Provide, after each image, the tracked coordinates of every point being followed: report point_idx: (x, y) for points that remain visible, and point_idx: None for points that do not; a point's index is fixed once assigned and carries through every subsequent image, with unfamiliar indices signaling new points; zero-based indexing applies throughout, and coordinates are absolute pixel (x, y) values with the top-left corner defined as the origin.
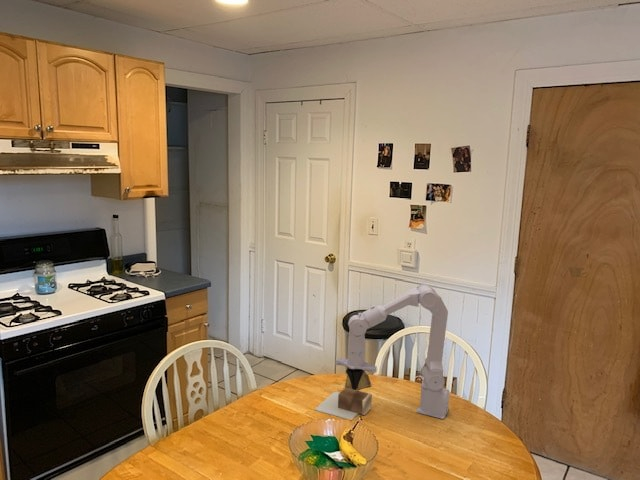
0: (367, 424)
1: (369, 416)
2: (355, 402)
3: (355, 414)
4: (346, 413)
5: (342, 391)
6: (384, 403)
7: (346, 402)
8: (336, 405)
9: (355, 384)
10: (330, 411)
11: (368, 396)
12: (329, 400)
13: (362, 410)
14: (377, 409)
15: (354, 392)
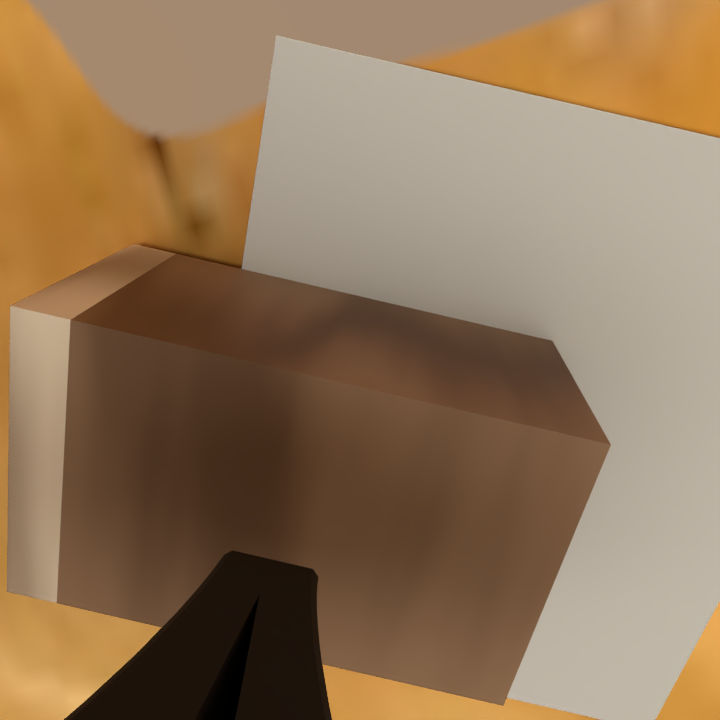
0: (26, 3)
1: (77, 254)
2: (241, 327)
3: (262, 226)
4: (397, 214)
5: (540, 572)
6: (21, 601)
7: (421, 354)
8: None
9: (172, 639)
10: (656, 204)
11: (28, 505)
12: (701, 509)
13: (144, 266)
14: None
15: None
